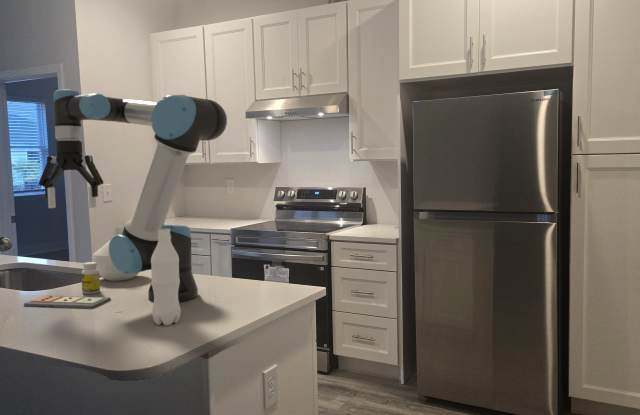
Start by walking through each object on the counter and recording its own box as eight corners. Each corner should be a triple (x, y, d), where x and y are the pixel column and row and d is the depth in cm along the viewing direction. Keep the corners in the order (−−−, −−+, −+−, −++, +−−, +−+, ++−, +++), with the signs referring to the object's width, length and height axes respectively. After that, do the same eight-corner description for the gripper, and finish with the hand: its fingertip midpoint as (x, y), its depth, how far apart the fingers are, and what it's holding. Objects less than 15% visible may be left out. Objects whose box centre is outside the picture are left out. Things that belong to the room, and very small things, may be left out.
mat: (110, 299, 167) (110, 295, 166) (92, 308, 157) (92, 304, 157) (45, 297, 170) (45, 293, 170) (24, 306, 160) (23, 301, 160)
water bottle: (165, 328, 137) (162, 231, 135) (146, 324, 141) (143, 229, 139) (186, 321, 143) (184, 228, 141) (167, 317, 147) (165, 226, 145)
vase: (155, 277, 200) (153, 226, 199) (108, 286, 186) (106, 231, 185) (129, 271, 212) (128, 223, 211) (84, 278, 198) (81, 227, 197)
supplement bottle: (78, 293, 176) (77, 263, 175) (91, 289, 181) (90, 261, 180) (91, 294, 174) (89, 264, 173) (103, 291, 179) (102, 262, 178)
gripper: (112, 140, 171) (115, 206, 172) (38, 141, 173) (42, 207, 175) (100, 138, 163) (104, 208, 165) (23, 140, 166) (27, 209, 167)
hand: (72, 207), depth 170 cm, fingers open, 13 cm apart
